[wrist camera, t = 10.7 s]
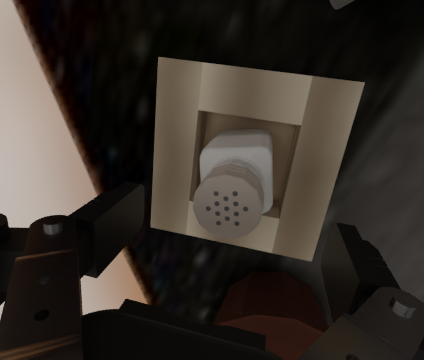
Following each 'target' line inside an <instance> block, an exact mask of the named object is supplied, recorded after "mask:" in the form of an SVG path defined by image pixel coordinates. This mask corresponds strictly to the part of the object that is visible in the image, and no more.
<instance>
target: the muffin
mask: <svg viewBox="0 0 424 360" xmlns="http://www.w3.org/2000/svg"><path fill="white" fill-rule="evenodd" d="M213 325H224V326H232V327H236V328H240V329H244V330H248V331H252V332H255V333H259V334H263V335H266V346H265V348H266V349H268V350H270V351H271V352H273V353H275V354H276V355H278V356H279V357H280V358H282V359H283V360H297V359H298V358H299V357H300V356H301V355H302V354H303V353H304V352H305V351H306V350H307V349H308V348H309V347H310V346H311V345H312V344H313V343H314V342H315V341H316V340H317V339H318V338H319V337H320V336H321V335H322V334H323V333H324V332H325V331H326V330H327V329H328V328H329V326H328V324H327V321H326V319H325V316H324V314H323V311H322V309H321V307H320V306H319V304H318V303H317V301H316V299H315V296H314V294H313V291H312V289H311V286H310V285H308V284H306V283H304V282H301V281H299V280H297V279H295V278H293V277H292V276H290V275H289V274H287V273H286V272H284V271H272V272H260V271H251V272H250V273H249V274H248V275H247V276H245V277H244V278H243V279H242V280H240V281H238V282H236V283H234V284H233V285H231V286H230V288H229V290H228V292H227V295H226V297H225V299H224V301H223V303H222V306H221V308H220V310H219V312H218V315H217V317H216V319H215V321H214V324H213Z"/></svg>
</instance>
